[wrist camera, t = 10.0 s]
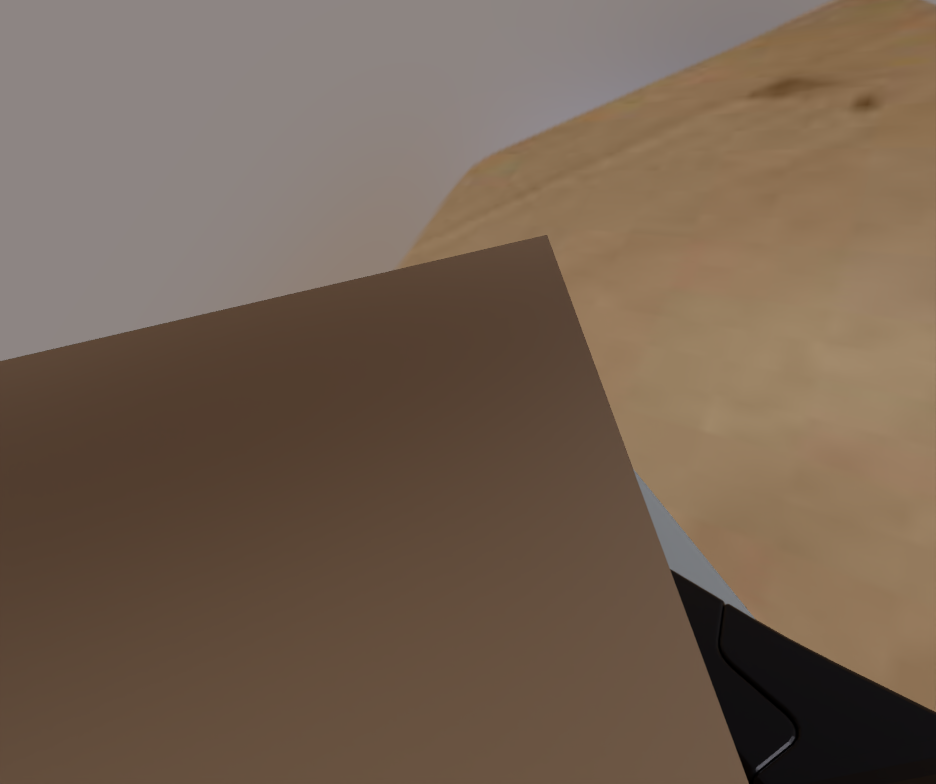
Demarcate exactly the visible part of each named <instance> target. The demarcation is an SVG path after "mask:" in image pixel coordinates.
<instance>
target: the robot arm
mask: <svg viewBox="0 0 936 784" xmlns="http://www.w3.org/2000/svg"><path fill="white" fill-rule="evenodd" d="M670 571H671V573H672V576H673V579H674V582H675V584H676V587H677V590H678V592H679V595H680V598H681V601H682V603H683V606H684V609H685V611H686V614H687V617H688V620H689V622H690V625H691V628H692V630H693V633H694V636H695V639H696V641H697V644H698V647H699V649H700V652H701V655H702V658H703V660H704V663H705V666H706V668H707V671H708V674H709V677H710V679H711V682H712V685H713V687H714V690H715V693H716V696H717V698H718V701H719V704H720V706H721V709H722V712H723V715H724V717H725V720H726V723H727V725H728V728H729V731H730V734H731V736H732V739H733V742H734V744H735V747H736V750H737V753H738V755H739V758H740V761H741V763H742V766H743V769H744V772H745V774H746V777H747V780H748V783H749V784H936V712H934V711H932V710H930V709H928V708H926V707H924V706H922V705H920V704H918V703H916V702H914V701H912V700H910V699H908V698H906V697H904V696H902V695H900V694H898V693H896V692H894V691H892V690H890V689H888V688H886V687H884V686H882V685H880V684H878V683H876V682H874V681H872V680H869V679H867V678H865V677H863V676H861V675H859V674H857V673H855V672H853V671H851V670H849V669H847V668H845V667H843V666H841V665H839V664H837V663H835V662H833V661H831V660H829V659H827V658H826V657H824V656H822V655H820V654H818V653H816V652H814V651H812V650H810V649H808V648H806V647H804V646H802V645H800V644H798V643H796V642H795V641H793V640H791V639H789V638H787V637H785V636H784V635H782V634H780V633H778V632H777V631H775V630H773V629H771V628H770V627H768V626H766V625H764V624H763V623H761V622H759V621H757V620H755V619H754V618H752V617H750V616H749V615H747V614H745V613H744V612H742V611H740V610H739V609H737V608H735V607H734V606H732V605H730V604H725V602H724V601H723V600H722V599H720V598H718V597H717V596H715V595H713V594H712V593H710V592H708V591H707V590H705V589H703V588H702V587H700V586H698V585H697V584H695V583H693V582H692V581H690V580H688V579H687V578H685V577H683V576H682V575H680V574H678V573H676V572H675V571H673V570H671V569H670Z"/></svg>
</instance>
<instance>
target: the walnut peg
mask: <svg viewBox="0 0 936 784" xmlns="http://www.w3.org/2000/svg"><path fill="white" fill-rule="evenodd" d="M0 784H749V783H748V780H747V777H746V774H745V772H744V769H743V766H742V763H741V761H740V758H739V755H738V753H737V750H736V747H735V744H734V742H733V739H732V736H731V734H730V731H729V728H728V725H727V723H726V720H725V717H724V715H723V712H722V709H721V706H720V704H719V701H718V698H717V696H716V693H715V690H714V687H713V685H712V682H711V679H710V677H709V674H708V671H707V668H706V666H705V663H704V660H703V658H702V655H701V652H700V649H699V647H698V644H697V641H696V639H695V636H694V633H693V630H692V628H691V625H690V622H689V620H688V617H687V614H686V611H685V609H684V606H683V603H682V601H681V598H680V595H679V592H678V590H677V587H676V584H675V582H674V579H673V576H672V573H671V571H670V568H669V565H668V563H667V560H666V557H665V554H664V552H663V549H662V546H661V544H660V541H659V538H658V535H657V533H656V530H655V527H654V524H653V522H652V519H651V516H650V514H649V511H648V508H647V505H646V503H645V500H644V497H643V495H642V492H641V489H640V486H639V484H638V481H637V478H636V476H635V473H634V470H633V467H632V465H631V462H630V459H629V457H628V454H627V451H626V448H625V446H624V443H623V440H622V438H621V435H620V432H619V429H618V427H617V424H616V421H615V419H614V416H613V413H612V410H611V408H610V405H609V402H608V400H607V397H606V394H605V391H604V389H603V386H602V383H601V381H600V378H599V375H598V372H597V370H596V367H595V364H594V362H593V359H592V356H591V353H590V351H589V348H588V345H587V343H586V340H585V337H584V334H583V332H582V329H581V326H580V324H579V321H578V318H577V315H576V313H575V310H574V307H573V304H572V302H571V299H570V296H569V294H568V291H567V288H566V285H565V283H564V280H563V277H562V275H561V272H560V269H559V266H558V264H557V261H556V258H555V256H554V253H553V250H552V247H551V245H550V242H549V239H548V237H547V235H545V236H540V237H536V238H532V239H527V240H523V241H519V242H514V243H510V244H506V245H502V246H497V247H493V248H489V249H484V250H480V251H476V252H471V253H467V254H463V255H458V256H454V257H450V258H445V259H441V260H437V261H432V262H428V263H424V264H419V265H415V266H411V267H406V268H402V269H398V270H393V271H389V272H385V273H381V274H376V275H372V276H367V277H363V278H359V279H354V280H350V281H346V282H342V283H337V284H333V285H329V286H324V287H320V288H315V289H311V290H307V291H302V292H298V293H294V294H289V295H285V296H281V297H276V298H272V299H268V300H264V301H259V302H255V303H251V304H247V305H242V306H238V307H233V308H229V309H225V310H221V311H216V312H212V313H208V314H203V315H199V316H194V317H190V318H186V319H181V320H177V321H173V322H169V323H164V324H160V325H155V326H151V327H147V328H142V329H138V330H134V331H130V332H125V333H121V334H117V335H112V336H108V337H104V338H99V339H95V340H91V341H86V342H82V343H78V344H73V345H69V346H65V347H60V348H56V349H51V350H47V351H43V352H39V353H34V354H30V355H25V356H21V357H17V358H13V359H8V360H4V361H0Z"/></svg>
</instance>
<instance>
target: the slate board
mask: <svg viewBox="0 0 936 784" xmlns="http://www.w3.org/2000/svg"><path fill="white" fill-rule="evenodd" d="M633 470H634V469H633ZM634 473H635V476H636V478H637V481H638V484H639V486H640V489H641V492H642V495H643V497H644V500H645V503H646V505H647V508H648V511H649V514H650V516H651V519H652V522H653V524H654V527H655V530H656V533H657V535H658V538H659V541H660V544H661V546H662V549H663V552H664V554H665V557H666V560H667V563H668V565H669V568H670V569H671V570H673V571H675V572H676V573H678V574H680V575H682V576H683V577H685V578H687V579H688V580H690V581H692V582H693V583H695V584H697V585H698V586H700V587H702V588H703V589H705V590H707V591H708V592H710V593H712V594H713V595H715V596H717V597H718V598H720V599H722V600H723V601H724V602H725V604H730V605H732V606H734V607H735V608H737V609H739V610H740V611H742V612H744V613H745V614H747V615H749V616H750V617H752V618H754V617H753V616H752V615H751V613H750V612H749V611H748V610H747V608H746V607H745V606H744V605H743V603H742V602H741V601H740V600H739V599H738V597H737V596H736V595H735V594H734V592H733V591H732V590H731V589H730V587H729V586H728V585H727V584H726V583H725V581H724V580H723V579H722V578H721V576H720V575H719V574H718V573H717V571H716V570H715V569H714V568H713V567H712V565H711V564H710V563H709V562H708V560H707V559H706V558H705V557H704V555H703V554H702V553H701V552H700V551H699V549H698V548H697V547H696V546H695V544H694V543H693V542H692V541H691V539H690V538H689V537H688V536H687V535H686V533H685V532H684V531H683V530H682V528H681V527H680V526H679V525H678V523H677V522H676V521H675V520H674V519H673V517H672V516H671V515H670V514H669V512H668V511H667V510H666V509H665V507H664V506H663V505H662V504H661V503H660V501H659V500H658V499H657V498H656V496H655V495H654V494H653V493H652V491H651V490H650V489H649V488H648V487H647V485H646V484H645V483H644V482H643V480H642V479H641V478H640V477H639V475H638V474H637V473H636V472H635V471H634ZM754 619H755V618H754ZM755 620H756V619H755Z"/></svg>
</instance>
